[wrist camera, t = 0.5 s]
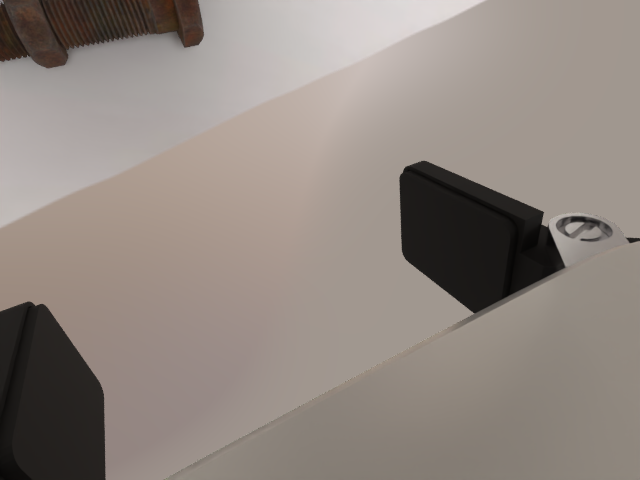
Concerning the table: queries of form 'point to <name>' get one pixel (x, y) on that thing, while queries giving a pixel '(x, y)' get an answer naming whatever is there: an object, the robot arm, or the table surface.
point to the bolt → (89, 25)
